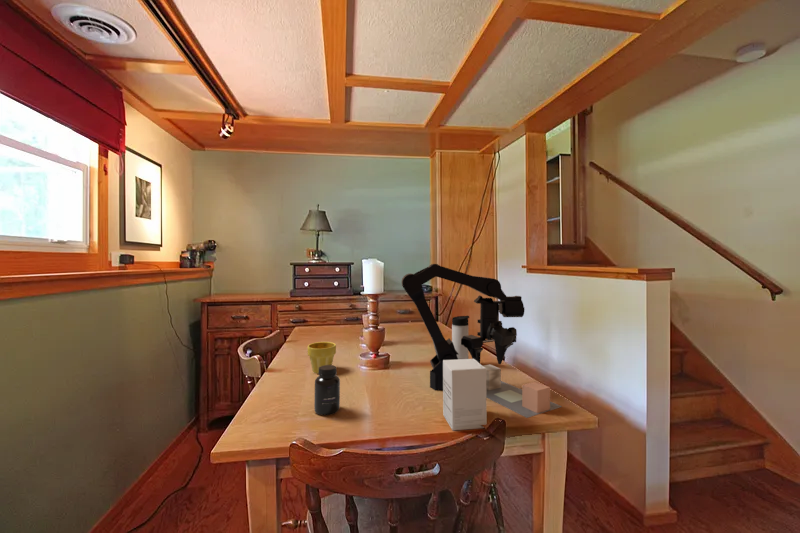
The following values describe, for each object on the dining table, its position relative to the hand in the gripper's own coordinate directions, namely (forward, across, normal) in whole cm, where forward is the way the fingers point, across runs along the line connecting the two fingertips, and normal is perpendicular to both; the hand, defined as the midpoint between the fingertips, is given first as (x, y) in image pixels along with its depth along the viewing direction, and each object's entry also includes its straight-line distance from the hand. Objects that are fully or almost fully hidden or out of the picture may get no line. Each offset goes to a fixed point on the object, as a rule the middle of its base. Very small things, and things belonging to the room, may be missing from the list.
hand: (488, 365), depth 109 cm
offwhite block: (+7, 0, 0) cm, 7 cm away
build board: (+8, 0, -9) cm, 12 cm away
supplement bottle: (+8, -50, +10) cm, 51 cm away
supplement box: (+8, -21, -13) cm, 26 cm away
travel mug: (+8, +6, +22) cm, 24 cm away
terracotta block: (+6, 0, -18) cm, 19 cm away
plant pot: (+8, -42, +44) cm, 61 cm away
